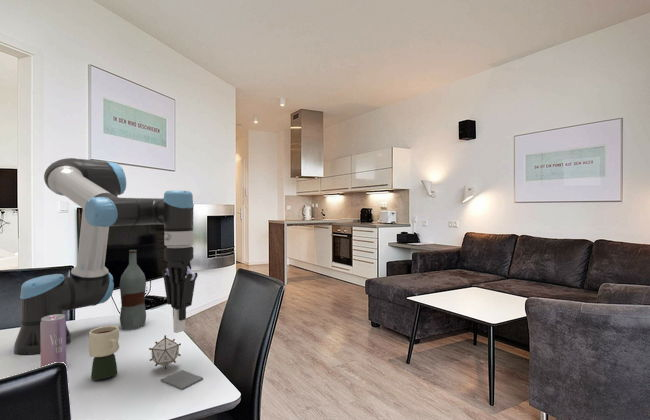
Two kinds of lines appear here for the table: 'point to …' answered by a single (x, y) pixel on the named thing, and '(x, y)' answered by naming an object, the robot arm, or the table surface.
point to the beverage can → (53, 339)
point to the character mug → (103, 351)
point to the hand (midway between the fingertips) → (179, 331)
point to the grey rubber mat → (181, 379)
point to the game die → (165, 352)
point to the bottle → (132, 295)
